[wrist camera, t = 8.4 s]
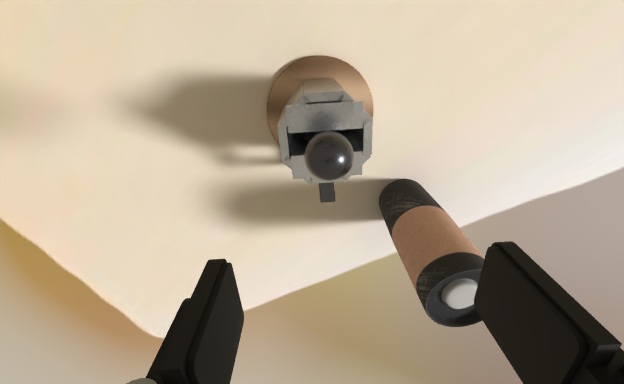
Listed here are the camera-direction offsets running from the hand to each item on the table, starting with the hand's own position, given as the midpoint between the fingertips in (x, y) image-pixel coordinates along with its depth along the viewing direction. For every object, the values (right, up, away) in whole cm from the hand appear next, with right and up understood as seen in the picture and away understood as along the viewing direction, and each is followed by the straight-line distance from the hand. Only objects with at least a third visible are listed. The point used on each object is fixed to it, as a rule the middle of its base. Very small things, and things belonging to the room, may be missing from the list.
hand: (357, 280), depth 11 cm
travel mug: (+12, +2, +34) cm, 36 cm away
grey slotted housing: (-1, +12, +28) cm, 31 cm away
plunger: (-1, +12, +25) cm, 27 cm away
